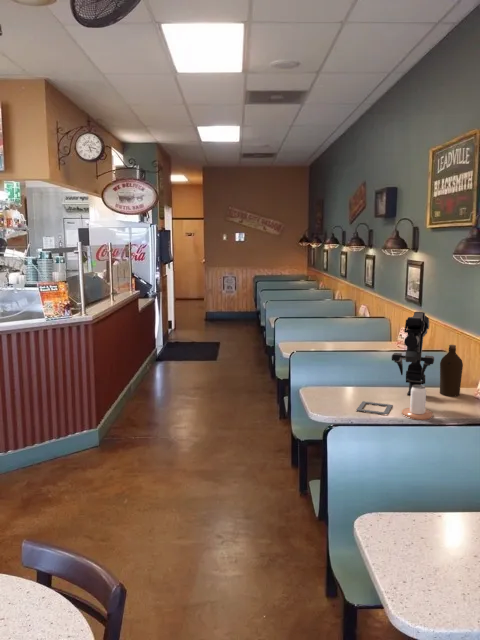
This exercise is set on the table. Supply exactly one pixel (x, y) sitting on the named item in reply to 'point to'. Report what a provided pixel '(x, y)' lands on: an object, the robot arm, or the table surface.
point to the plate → (424, 416)
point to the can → (418, 399)
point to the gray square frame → (374, 404)
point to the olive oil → (450, 373)
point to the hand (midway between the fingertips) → (411, 376)
